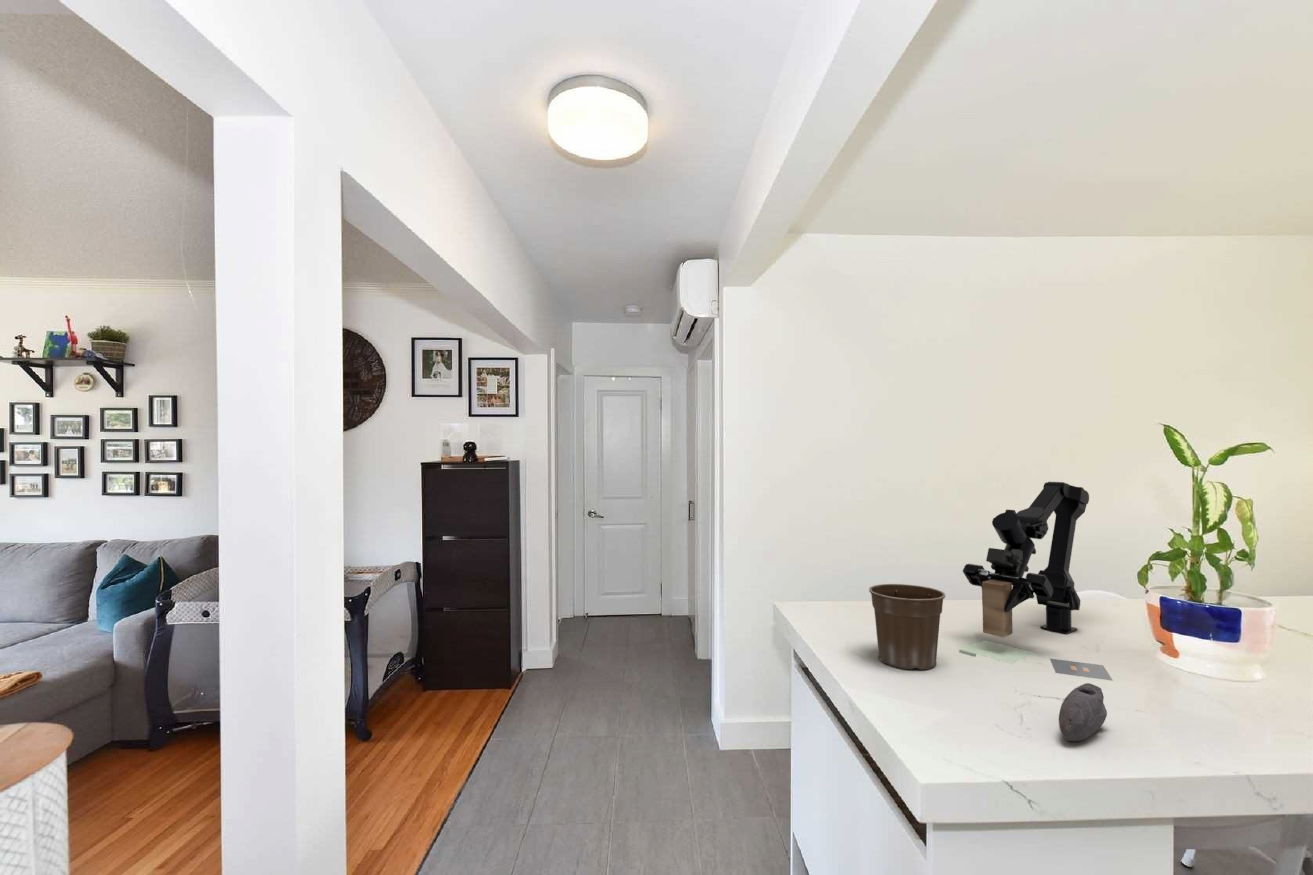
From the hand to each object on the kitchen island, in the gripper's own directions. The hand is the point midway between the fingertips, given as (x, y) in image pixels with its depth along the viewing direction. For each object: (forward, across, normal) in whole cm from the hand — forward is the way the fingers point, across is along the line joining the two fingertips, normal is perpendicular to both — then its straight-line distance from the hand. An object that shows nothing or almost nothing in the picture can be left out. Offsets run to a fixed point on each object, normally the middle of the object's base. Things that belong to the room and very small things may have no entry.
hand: (994, 608), depth 144 cm
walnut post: (+3, 0, +5) cm, 6 cm away
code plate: (+5, +16, +10) cm, 20 cm away
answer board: (+7, 0, +8) cm, 11 cm away
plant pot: (+22, -10, -7) cm, 25 cm away
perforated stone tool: (+28, +28, -13) cm, 42 cm away
